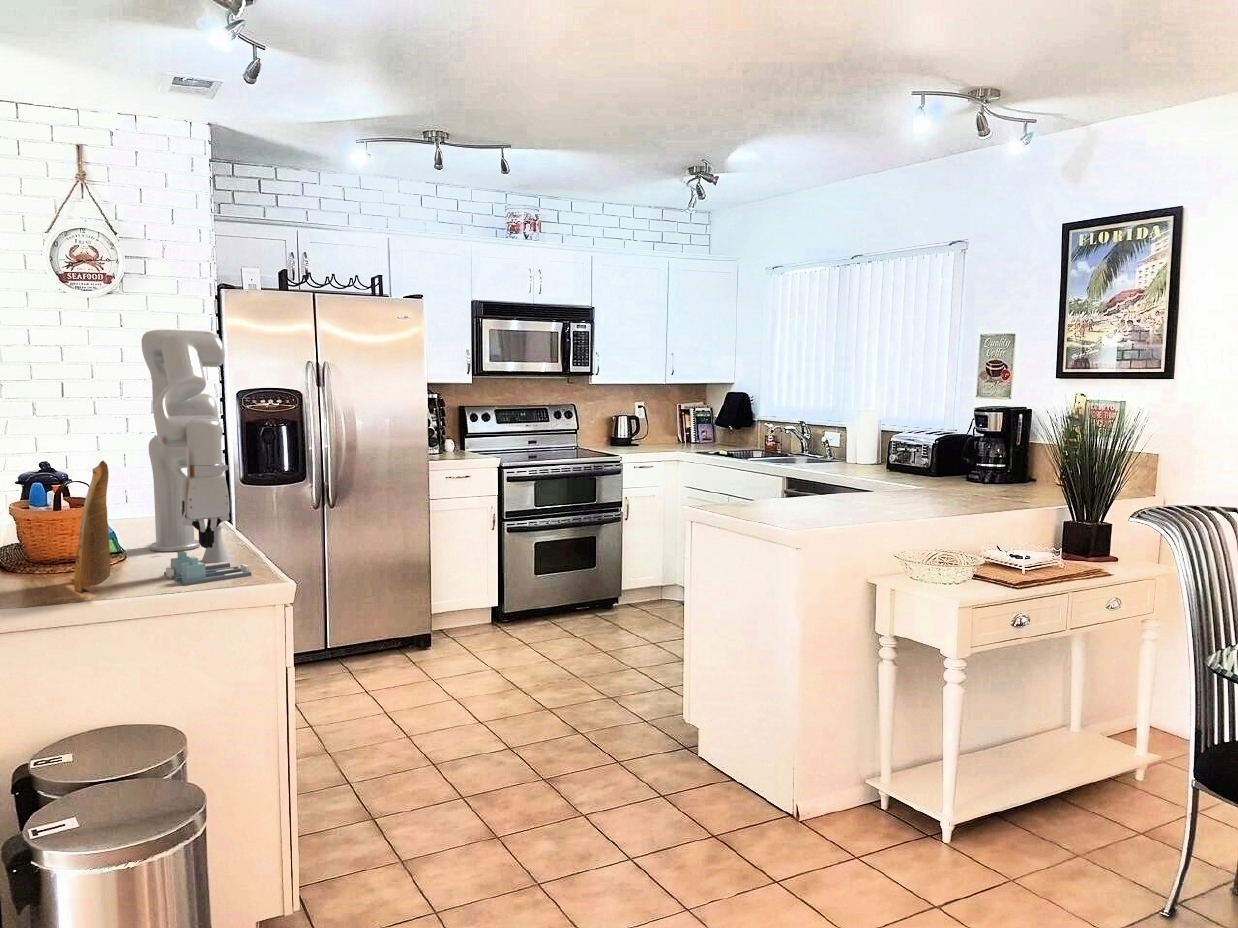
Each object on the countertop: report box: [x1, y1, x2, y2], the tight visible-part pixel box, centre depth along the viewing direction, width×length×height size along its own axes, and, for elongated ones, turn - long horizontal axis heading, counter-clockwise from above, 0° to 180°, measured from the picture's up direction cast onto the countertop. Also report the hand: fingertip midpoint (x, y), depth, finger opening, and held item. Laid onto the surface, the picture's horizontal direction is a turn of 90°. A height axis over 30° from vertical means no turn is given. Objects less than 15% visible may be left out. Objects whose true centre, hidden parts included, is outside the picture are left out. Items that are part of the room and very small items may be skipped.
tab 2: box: [181, 555, 206, 581], centre depth 204 cm, size 4×4×6 cm
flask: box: [200, 524, 232, 564], centre depth 226 cm, size 7×7×10 cm
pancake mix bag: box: [73, 460, 111, 594], centre depth 203 cm, size 7×19×28 cm, turn 16°
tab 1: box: [170, 550, 190, 575], centre depth 209 cm, size 4×4×6 cm
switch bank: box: [163, 562, 253, 587], centre depth 210 cm, size 14×15×3 cm
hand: (206, 546), depth 214 cm, fingers closed
